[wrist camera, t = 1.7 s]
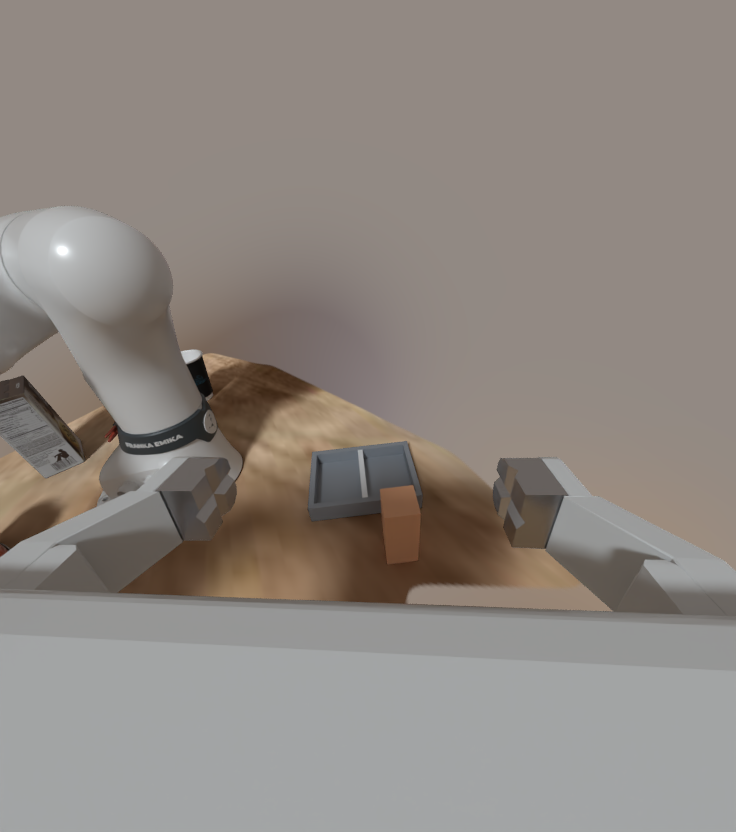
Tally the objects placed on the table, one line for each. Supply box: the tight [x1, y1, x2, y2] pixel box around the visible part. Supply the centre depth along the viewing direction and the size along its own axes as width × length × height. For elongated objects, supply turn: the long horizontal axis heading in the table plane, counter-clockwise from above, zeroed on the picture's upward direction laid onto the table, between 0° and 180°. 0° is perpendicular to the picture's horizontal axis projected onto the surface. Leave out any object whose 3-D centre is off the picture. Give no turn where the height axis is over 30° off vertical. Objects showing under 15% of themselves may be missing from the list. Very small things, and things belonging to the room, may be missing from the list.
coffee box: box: [0, 376, 85, 478], centre depth 55 cm, size 9×6×16 cm
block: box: [380, 485, 421, 565], centre depth 37 cm, size 4×4×10 cm
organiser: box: [308, 441, 423, 521], centre depth 48 cm, size 16×12×3 cm
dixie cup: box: [181, 350, 213, 400], centre depth 71 cm, size 8×8×11 cm
